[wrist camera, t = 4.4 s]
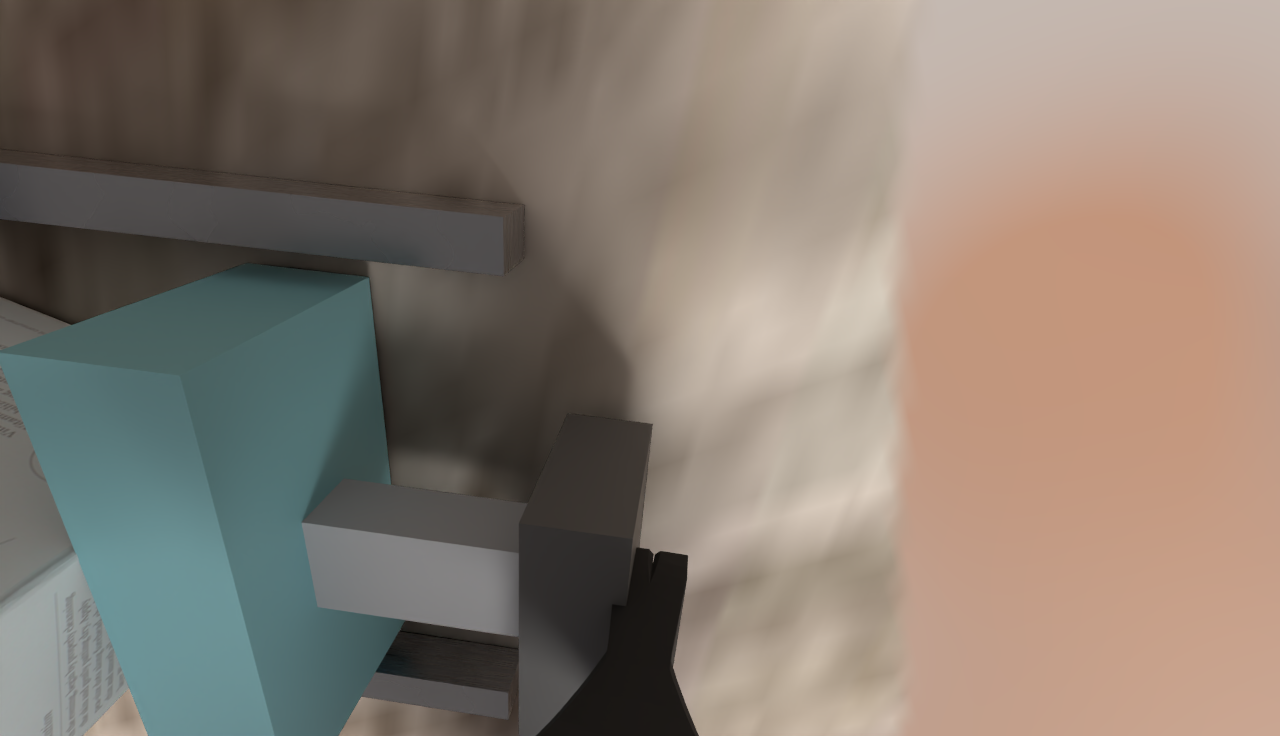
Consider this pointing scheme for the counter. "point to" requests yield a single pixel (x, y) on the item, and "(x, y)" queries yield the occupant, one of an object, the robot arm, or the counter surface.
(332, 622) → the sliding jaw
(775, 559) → the counter surface
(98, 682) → the small box
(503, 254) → the vise
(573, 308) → the counter surface
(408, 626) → the counter surface
